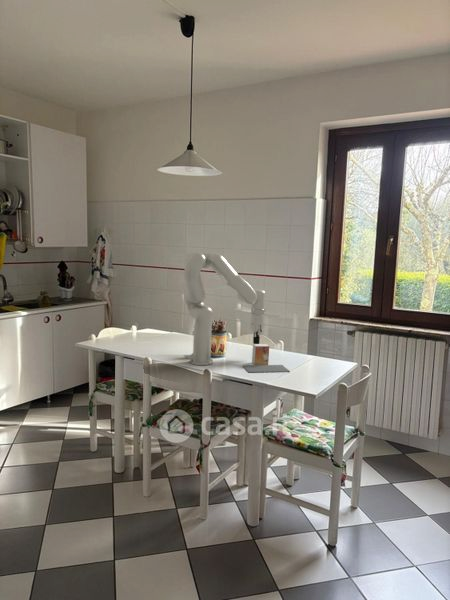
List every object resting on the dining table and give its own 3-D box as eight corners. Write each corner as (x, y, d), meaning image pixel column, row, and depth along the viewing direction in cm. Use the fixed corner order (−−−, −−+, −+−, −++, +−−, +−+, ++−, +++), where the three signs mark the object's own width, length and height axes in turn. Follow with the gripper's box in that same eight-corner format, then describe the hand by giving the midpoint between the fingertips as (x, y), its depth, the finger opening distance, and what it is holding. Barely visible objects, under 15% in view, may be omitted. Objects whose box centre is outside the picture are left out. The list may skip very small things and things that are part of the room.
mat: (248, 372, 227) (248, 371, 227) (242, 366, 239) (242, 365, 239) (289, 372, 232) (289, 371, 232) (282, 365, 243) (282, 364, 243)
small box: (254, 365, 242) (255, 346, 241) (251, 362, 248) (252, 343, 246) (268, 364, 244) (269, 346, 243) (265, 362, 249) (266, 343, 248)
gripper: (247, 309, 258) (246, 340, 260) (255, 313, 244) (253, 346, 246) (260, 309, 260) (258, 340, 262) (268, 313, 245) (266, 346, 247)
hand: (256, 343), depth 254 cm, fingers closed
